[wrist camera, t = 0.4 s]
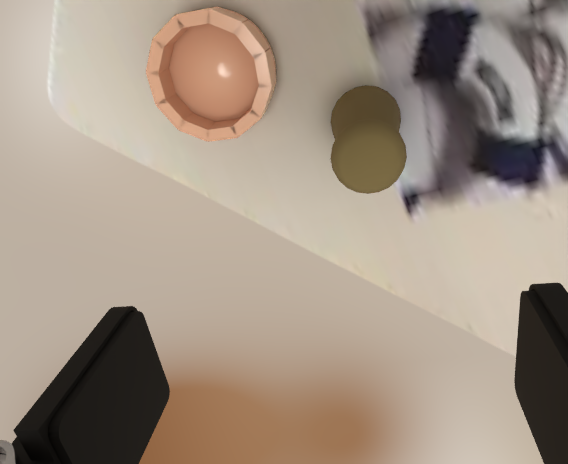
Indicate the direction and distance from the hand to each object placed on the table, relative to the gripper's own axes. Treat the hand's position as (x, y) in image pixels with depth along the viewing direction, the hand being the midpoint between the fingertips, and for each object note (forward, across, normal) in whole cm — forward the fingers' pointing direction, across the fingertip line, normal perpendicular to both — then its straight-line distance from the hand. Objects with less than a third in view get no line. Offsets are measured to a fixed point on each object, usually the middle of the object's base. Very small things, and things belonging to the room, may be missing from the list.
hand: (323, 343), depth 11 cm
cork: (+32, -1, +2) cm, 32 cm away
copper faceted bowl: (+32, +11, -4) cm, 34 cm away
